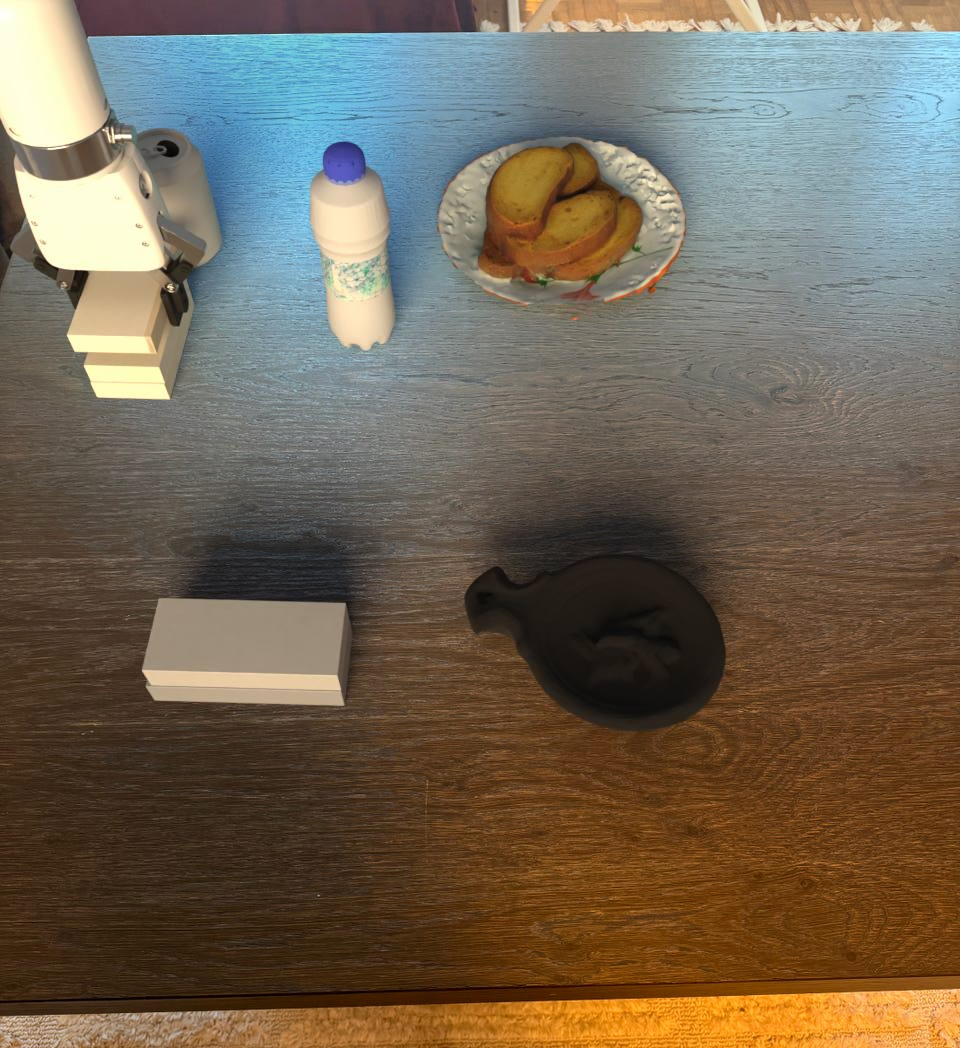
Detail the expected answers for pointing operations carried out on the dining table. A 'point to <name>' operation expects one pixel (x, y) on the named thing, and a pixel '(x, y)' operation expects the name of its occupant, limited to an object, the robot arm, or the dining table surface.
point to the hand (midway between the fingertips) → (135, 313)
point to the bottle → (353, 246)
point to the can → (182, 184)
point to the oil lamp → (609, 638)
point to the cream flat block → (119, 312)
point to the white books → (141, 365)
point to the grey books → (249, 652)
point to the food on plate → (562, 221)
